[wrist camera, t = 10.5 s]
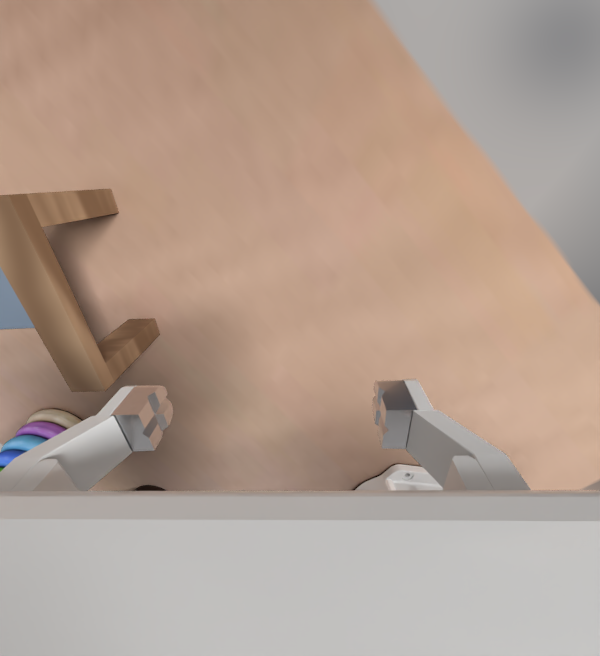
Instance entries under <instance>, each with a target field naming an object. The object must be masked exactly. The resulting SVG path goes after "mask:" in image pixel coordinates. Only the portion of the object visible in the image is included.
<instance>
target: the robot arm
mask: <svg viewBox="0 0 600 656" xmlns="http://www.w3.org/2000/svg"><path fill="white" fill-rule="evenodd" d="M374 392H375V395H376V396H375V397H374V398H373V404H372V406H373V416H374V421H375V424H376V425H378V436H379V440H380V443H381V447H382V448H392V449H406V450H407V451H408V452H409V453H410V454H411V455H412V457H413V458H414V459H415V460H416V461H417V462H418V463H419V464H420V465H421V466H422V467H419V466H411V465H403V464H397V465H394V466H392V467H390V468H389V469H388V470H386V471H385V472H384V473H383V474H382V475H380V476H378V477H376V478H373V479H371V480H368V481H366V482H365V483H363V484H361V485H360V486H359V487H357V488H356V489H355V490H354V491H88V490H89V489H90V488H91V487H92V486H94V485H95V484H96V483H97V482H98V481H99V480H101V479H102V478H103V477H104V476H105V475H106V474H108V473H109V472H110V471H111V470H112V469H114V468H115V467H116V466H117V465H118V464H119V463H121V462H122V461H123V460H124V459H125V458H126V457H128V456H129V455H130V454H131V453H132V451H155V449H156V447H157V445H158V444H159V442H160V440H161V438H162V437H163V434H162V431H163V430H164V429H165V428H167V427H168V426H169V424H170V422H171V421H172V416H173V406H172V403H171V402H170V401H169V400H168V399H167V398H166V396H167V394H168V392H167V390H166V388H165V387H164V386H162V385H138V386H124V387H121V389H120V390H119V391H118V392H117V393H116V394H115V395H114V396H113V397H112V398H111V400H110V401H109V402H108V403H107V404H106V405H105V406H104V407H103V408H102V409H101V411H100V412H99V413H98V414H97V415H96V416H91V417H89V418H87V419H85V420H83V421H82V422H80V423H78V424H76V425H74V426H73V427H71V428H69V429H67V430H65V431H63V432H62V433H60V434H58V435H56V436H54V437H52V438H51V439H49V440H47V441H45V442H43V443H41V444H40V445H38V446H36V447H34V448H32V449H30V450H29V451H27V452H25V453H23V454H21V455H20V456H18V457H16V458H14V459H13V460H12V461H11V462H10V463H9V464H8V465H7V466H6V467H5V468H4V469H3V470H2V471H1V472H0V656H600V490H531V489H530V488H529V486H528V485H527V484H526V482H525V481H524V479H523V478H522V476H521V475H520V474H519V472H518V471H517V469H516V468H515V466H514V465H513V464H512V462H511V461H510V459H509V458H508V457H507V455H506V454H505V453H503V452H502V451H500V450H499V449H497V448H495V447H494V446H492V445H491V444H489V443H488V442H486V441H485V440H483V439H482V438H480V437H479V436H477V435H476V434H474V433H472V432H471V431H469V430H468V429H466V428H465V427H463V426H462V425H460V424H459V423H457V422H456V421H454V420H453V419H451V418H450V417H448V416H446V415H445V414H443V413H442V412H440V411H439V410H434V409H433V407H432V405H431V404H430V402H429V400H428V398H427V396H426V394H425V393H424V391H423V389H422V387H421V385H420V383H419V381H418V380H417V379H404V380H382V381H375V383H374Z"/></svg>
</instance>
